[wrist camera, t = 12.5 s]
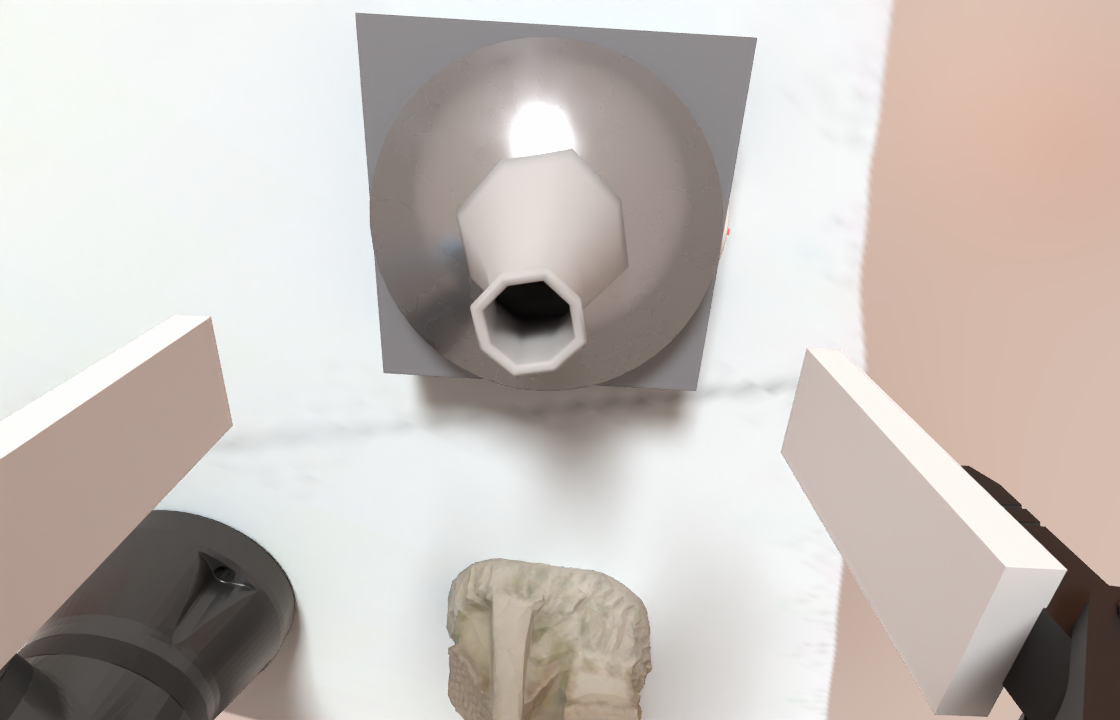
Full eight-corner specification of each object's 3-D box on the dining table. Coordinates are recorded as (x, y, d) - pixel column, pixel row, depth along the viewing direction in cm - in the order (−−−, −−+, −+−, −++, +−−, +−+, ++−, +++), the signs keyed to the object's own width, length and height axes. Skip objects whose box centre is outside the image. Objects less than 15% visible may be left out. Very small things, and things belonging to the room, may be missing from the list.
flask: (581, 114, 24) (588, 139, 15) (655, 273, 26) (700, 377, 17) (426, 200, 25) (346, 271, 16) (511, 342, 28) (483, 470, 19)
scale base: (688, 350, 35) (708, 397, 30) (407, 334, 35) (380, 378, 30) (738, 44, 29) (774, 37, 23) (389, 22, 28) (350, 11, 23)
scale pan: (690, 389, 30) (694, 399, 29) (388, 372, 30) (382, 381, 29) (747, 50, 23) (755, 49, 23) (362, 26, 23) (353, 24, 22)
